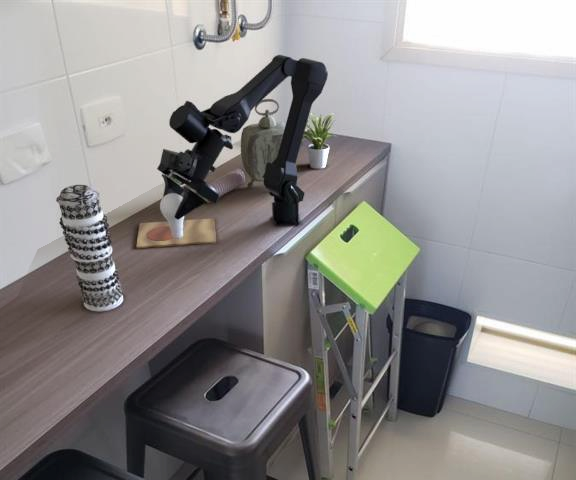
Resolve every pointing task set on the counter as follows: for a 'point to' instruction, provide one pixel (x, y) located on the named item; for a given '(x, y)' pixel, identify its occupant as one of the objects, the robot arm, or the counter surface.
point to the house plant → (318, 142)
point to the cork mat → (162, 235)
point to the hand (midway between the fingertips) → (169, 214)
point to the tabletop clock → (261, 143)
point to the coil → (228, 182)
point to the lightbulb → (172, 213)
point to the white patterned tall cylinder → (90, 247)
